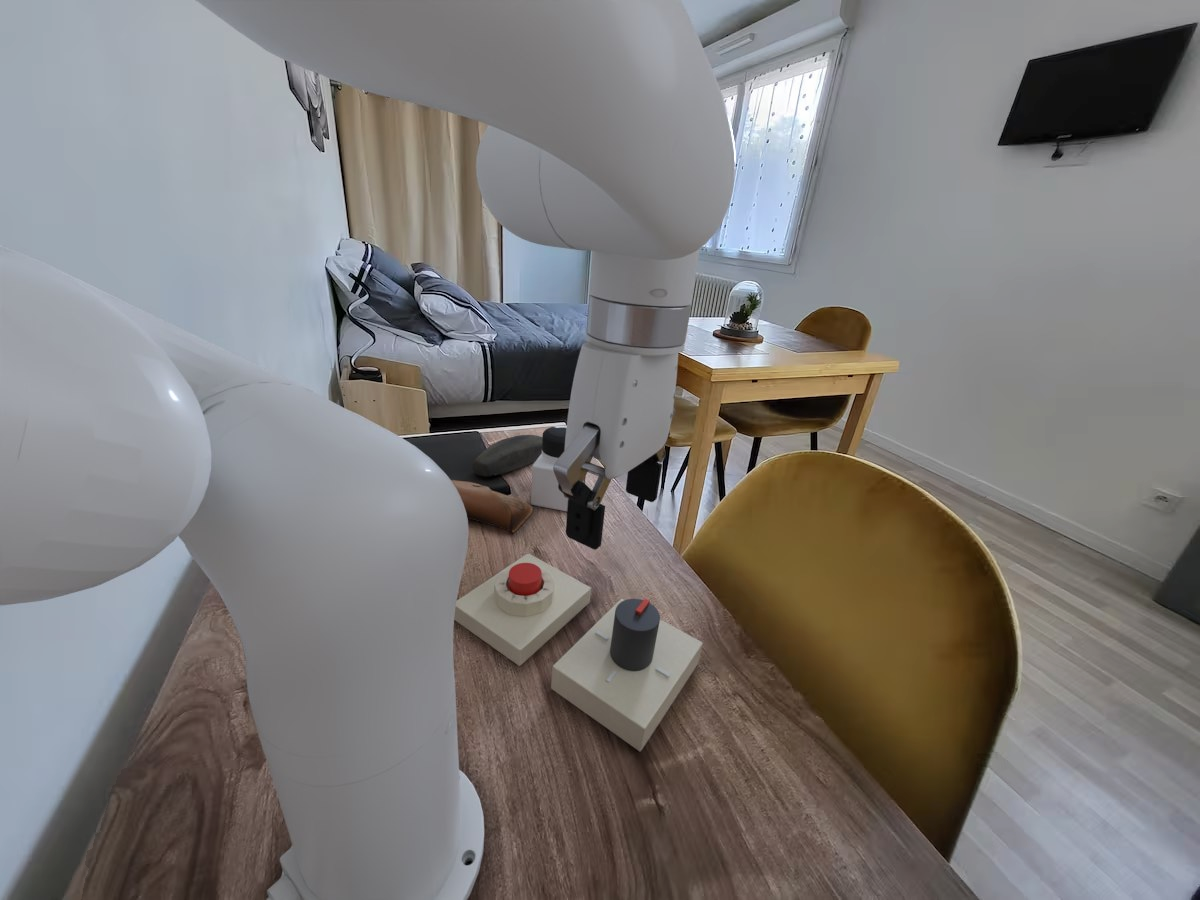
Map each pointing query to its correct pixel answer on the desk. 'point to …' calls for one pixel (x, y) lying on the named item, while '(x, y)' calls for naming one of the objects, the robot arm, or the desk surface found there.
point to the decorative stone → (508, 455)
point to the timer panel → (625, 679)
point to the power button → (525, 579)
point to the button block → (521, 610)
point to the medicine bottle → (549, 471)
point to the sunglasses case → (492, 506)
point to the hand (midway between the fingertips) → (614, 517)
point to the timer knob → (634, 634)
